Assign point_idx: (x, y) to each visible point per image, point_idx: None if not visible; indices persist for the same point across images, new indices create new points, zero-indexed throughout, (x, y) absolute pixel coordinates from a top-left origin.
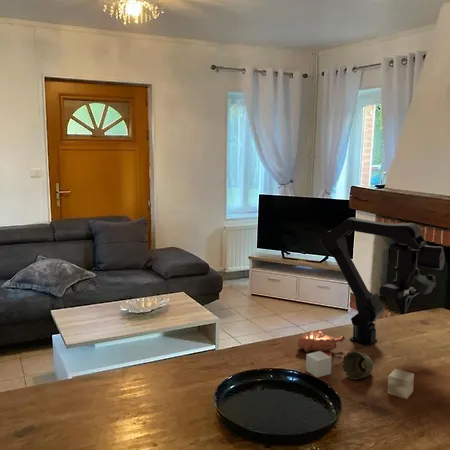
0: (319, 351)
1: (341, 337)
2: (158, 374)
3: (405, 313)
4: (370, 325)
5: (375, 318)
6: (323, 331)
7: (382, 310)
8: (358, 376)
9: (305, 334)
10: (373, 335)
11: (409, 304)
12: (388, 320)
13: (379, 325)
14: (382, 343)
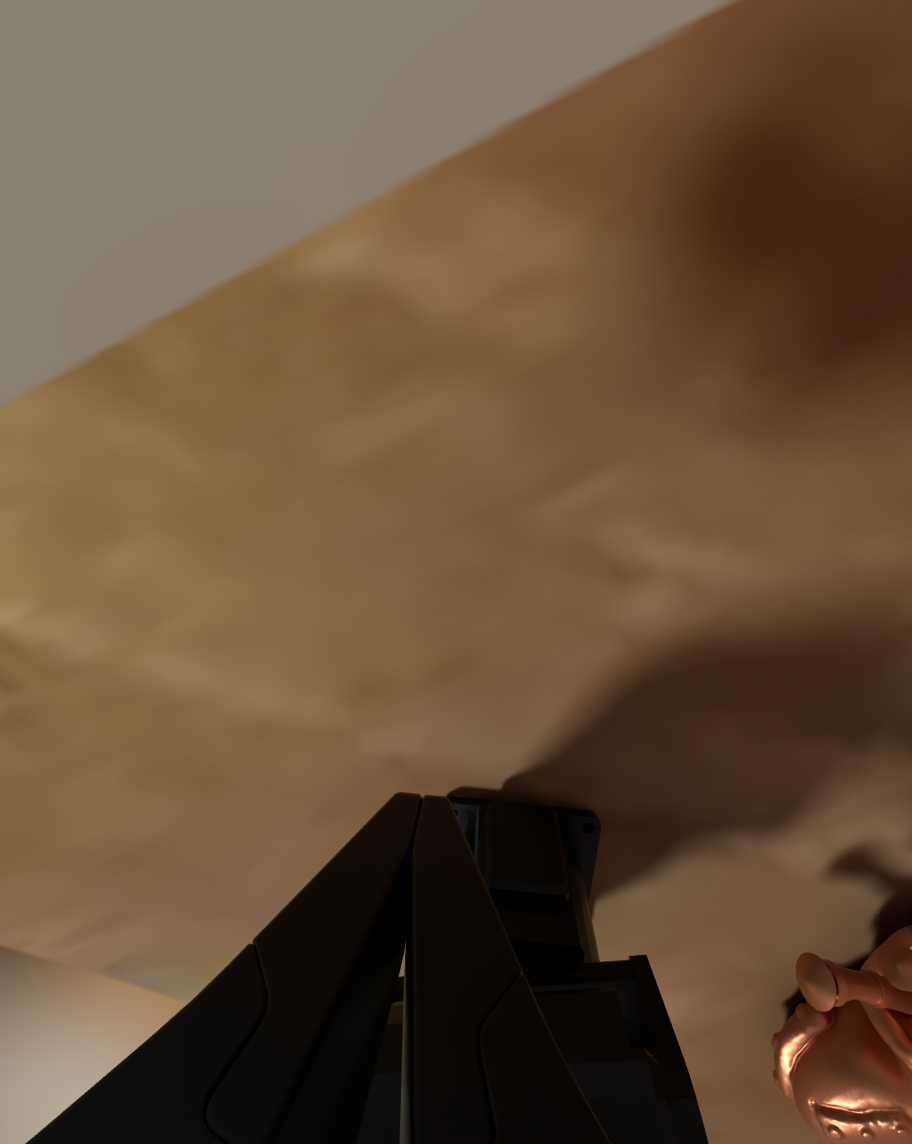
0: None
1: (847, 990)
2: None
3: (415, 794)
4: (548, 952)
5: (616, 1009)
6: (866, 1132)
7: (380, 1074)
8: None
9: None
10: (525, 845)
11: (275, 923)
12: (14, 914)
13: (155, 914)
14: (449, 751)
